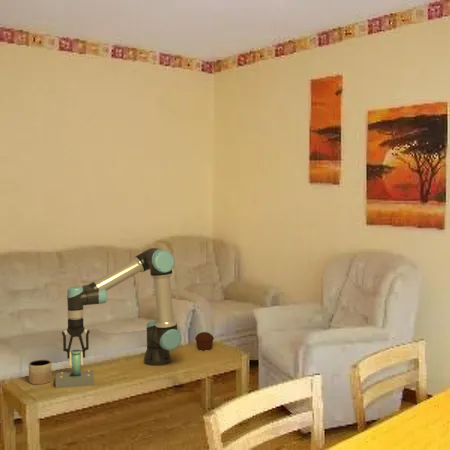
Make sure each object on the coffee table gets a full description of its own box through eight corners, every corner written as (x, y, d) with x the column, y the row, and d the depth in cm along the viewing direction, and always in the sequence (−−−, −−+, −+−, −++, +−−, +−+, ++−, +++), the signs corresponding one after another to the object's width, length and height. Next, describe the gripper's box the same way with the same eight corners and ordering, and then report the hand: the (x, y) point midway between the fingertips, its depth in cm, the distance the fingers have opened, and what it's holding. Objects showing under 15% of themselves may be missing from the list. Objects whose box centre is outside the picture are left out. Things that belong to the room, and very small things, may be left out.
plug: (81, 373, 289) (81, 349, 288) (81, 375, 284) (81, 351, 284) (71, 373, 288) (71, 349, 287) (71, 376, 283) (71, 352, 283)
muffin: (217, 348, 350) (217, 332, 350) (206, 352, 342) (206, 335, 341) (203, 345, 358) (202, 329, 357) (191, 349, 349) (191, 333, 349)
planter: (33, 378, 294) (33, 359, 293) (54, 378, 293) (54, 359, 293) (25, 385, 283) (25, 365, 282) (47, 385, 282) (47, 365, 282)
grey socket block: (93, 377, 294) (93, 368, 294) (93, 385, 282) (93, 375, 282) (57, 380, 290) (56, 371, 290) (55, 387, 278) (55, 378, 278)
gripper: (93, 315, 290) (94, 361, 291) (57, 317, 286) (58, 363, 287) (94, 318, 283) (94, 365, 284) (56, 320, 279) (57, 367, 280)
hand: (76, 364), depth 286 cm, fingers closed on plug, 5 cm apart
